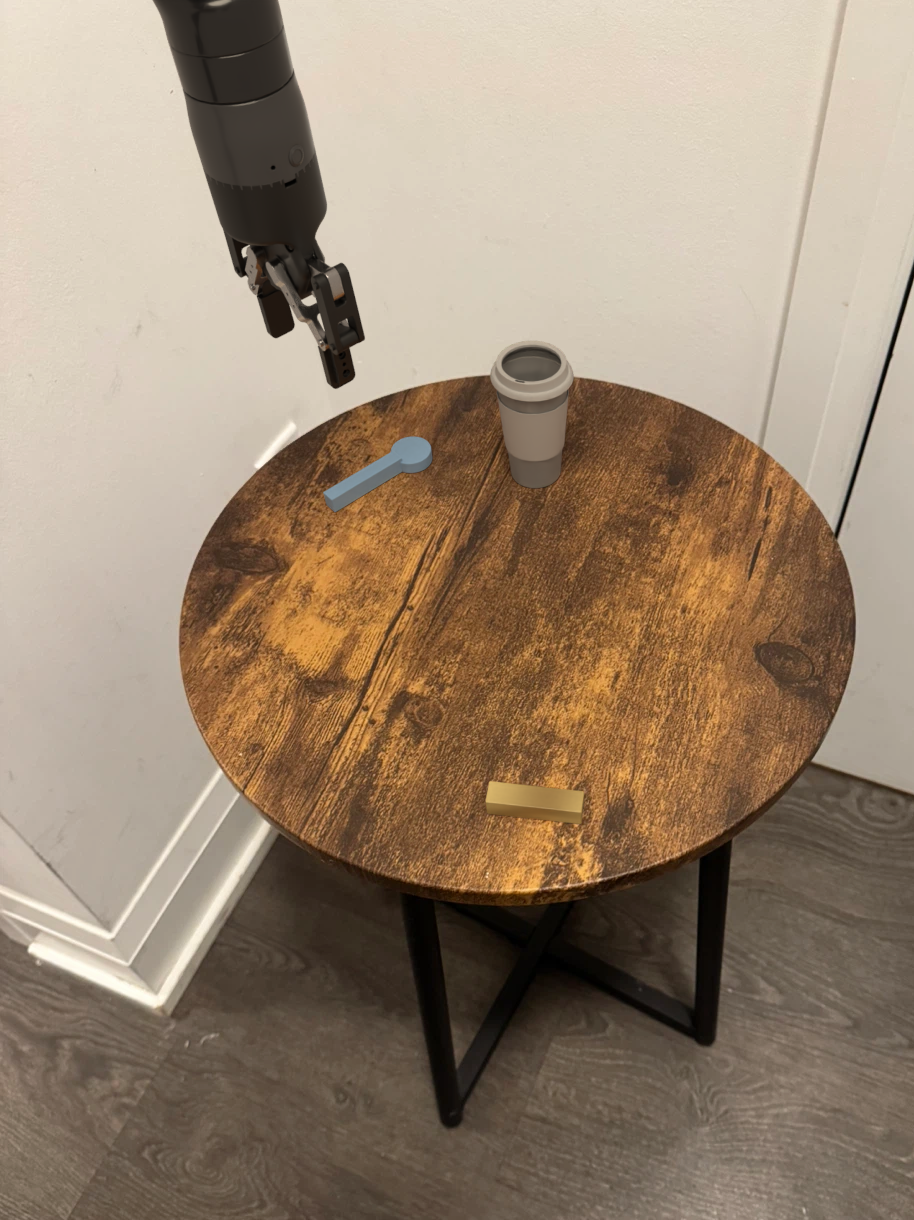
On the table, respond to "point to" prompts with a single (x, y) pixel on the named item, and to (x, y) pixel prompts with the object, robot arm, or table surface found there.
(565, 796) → the fry stick
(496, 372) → the cup
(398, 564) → the table surface
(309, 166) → the robot arm
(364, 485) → the spoon
